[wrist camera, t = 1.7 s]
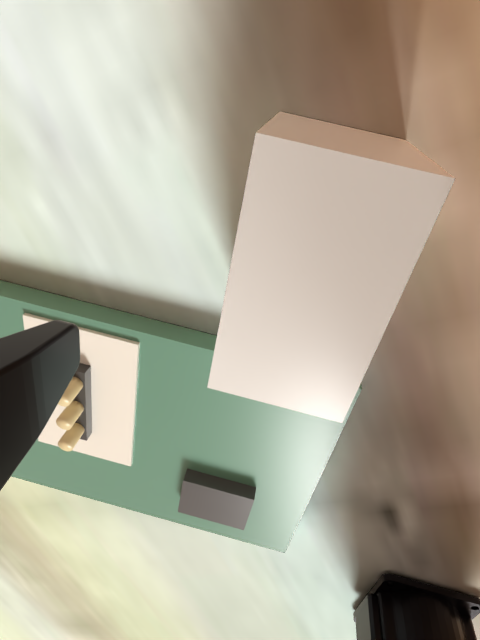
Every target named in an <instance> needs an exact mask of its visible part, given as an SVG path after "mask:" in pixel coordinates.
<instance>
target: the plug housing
mask: <svg viewBox="0 0 480 640" xmlns="http://www.w3.org/2000/svg"><path fill="white" fill-rule="evenodd" d="M454 181H455V178H454V177H453V176H452V175H450V174H449V173H448V172H446V171H445V170H444V169H443V168H441V167H440V166H439V165H437V164H436V163H435V162H434V161H432V160H431V159H430V158H429V157H427V156H426V155H425V154H423V153H422V152H421V151H420V150H418V149H417V148H416V147H414V146H413V145H412V144H411V143H409V142H408V141H407V140H404V139H399V138H395V137H390V136H386V135H382V134H377V133H373V132H368V131H364V130H360V129H355V128H351V127H346V126H342V125H338V124H333V123H329V122H324V121H320V120H316V119H311V118H307V117H303V116H298V115H294V114H289V113H285V112H281V111H280V112H278V113H277V114H276V115H275V116H274V117H273V118H272V119H271V120H269V121H268V122H267V123H266V124H265V125H264V126H263V127H261V128H260V129H259V130H258V131H257V132H256V133H255V139H254V144H253V149H252V155H251V160H250V165H249V170H248V176H247V181H246V186H245V191H244V197H243V202H242V207H241V212H240V218H239V223H238V228H237V233H236V239H235V244H234V249H233V255H232V260H231V265H230V270H229V276H228V281H227V286H226V291H225V297H224V302H223V307H222V312H221V318H220V323H219V328H218V333H217V339H216V344H215V349H214V355H213V360H212V365H211V370H210V376H209V381H208V386H207V388H210V389H214V390H218V391H222V392H226V393H229V394H233V395H237V396H241V397H245V398H248V399H252V400H256V401H260V402H264V403H267V404H271V405H275V406H279V407H283V408H286V409H290V410H294V411H298V412H302V413H305V414H309V415H313V416H317V417H321V418H324V419H328V420H332V421H336V422H340V423H343V421H344V418H345V416H346V414H347V412H348V410H349V408H350V405H351V403H352V401H353V399H354V397H355V395H356V392H357V390H358V388H359V386H360V384H361V382H362V380H363V377H364V375H365V373H366V371H367V369H368V367H369V364H370V362H371V360H372V358H373V356H374V354H375V351H376V349H377V347H378V345H379V343H380V341H381V338H382V336H383V334H384V332H385V330H386V328H387V325H388V323H389V321H390V319H391V317H392V315H393V313H394V310H395V308H396V306H397V304H398V302H399V300H400V297H401V295H402V293H403V291H404V289H405V287H406V284H407V282H408V280H409V278H410V276H411V274H412V271H413V269H414V267H415V265H416V263H417V261H418V259H419V256H420V254H421V252H422V250H423V248H424V246H425V243H426V241H427V239H428V237H429V235H430V233H431V230H432V228H433V226H434V224H435V222H436V220H437V217H438V215H439V213H440V211H441V209H442V207H443V204H444V202H445V200H446V198H447V196H448V194H449V192H450V189H451V187H452V185H453V183H454Z"/></svg>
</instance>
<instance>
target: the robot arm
mask: <svg viewBox="0 0 480 640" xmlns="http://www.w3.org/2000/svg"><path fill="white" fill-rule="evenodd" d="M79 363H80V336H79V328H78V326H77V325H75V324H73V323H69V322H65V321H62V320H53V321H50V322H47V323H44V324H41V325H38V326H35V327H32V328H29V329H26V330H23V331H20V332H17V333H14V334H11V335H8V336H5V337H2V338H0V490H1V489H2V488H3V486H4V485H5V484H6V482H7V481H8V479H9V478H10V477H11V475H12V474H13V472H14V471H15V470H16V468H17V467H18V465H19V464H20V463H21V461H22V460H23V458H24V457H25V456H26V454H27V453H28V451H29V450H30V449H31V447H32V446H33V444H34V443H35V441H36V440H37V439H38V437H39V436H40V434H41V432H42V431H43V429H44V427H45V426H46V424H47V422H48V421H49V419H50V417H51V415H52V413H53V412H54V410H55V408H56V406H57V405H58V403H59V401H60V399H61V397H62V396H63V394H64V392H65V390H66V388H67V387H68V385H69V383H70V381H71V380H72V378H73V376H74V374H75V372H76V371H77V369H78V366H79ZM479 613H480V599H478V598H476V597H472V596H468V595H465V594H461V593H458V592H454V591H451V590H447V589H443V588H440V587H436V586H433V585H429V584H425V583H422V582H418V581H415V580H411V579H408V578H404V577H400V576H397V575H393V574H384V575H382V576H381V577H380V579H379V580H378V581H377V583H376V584H375V585H374V587H373V588H372V589H371V591H370V592H369V593H368V595H367V596H366V597H365V598H364V600H363V601H362V602H361V603H360V605H359V606H358V607H357V609H356V610H355V612H354V614H353V615H354V621H355V622H356V633H357V640H477V638H476V635H475V631H474V627H473V624H472V619H473V618H475V617H476V616H477V615H478V614H479Z"/></svg>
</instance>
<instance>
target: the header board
mask: <svg viewBox="0 0 480 640" xmlns="http://www.w3.org/2000/svg"><path fill="white" fill-rule="evenodd" d="M53 320H62V321H65V322H69V323H73V324H75V325H77V326H78V328H79V336H80V363H79V366H78V369H77V371H76V372H75V374H74V376H73V378H72V380H71V381H70V383H69V385H68V387H67V388H66V390H65V392H64V394H63V396H62V397H61V399H60V401H59V403H58V405H57V406H56V408H55V410H54V412H53V413H52V415H51V417H50V419H49V421H48V422H47V424H46V426H45V427H44V429H43V431H42V432H41V434H40V436H39V437H38V439H37V440H36V441H35V443H34V444H33V446H32V447H31V449H30V450H29V451H28V453H27V454H26V456H25V457H24V458H23V460H22V461H21V463H20V464H19V465H18V467H17V468H16V470H15V471H14V472H13V474H12V475H11V476H12V477H15V478H19V479H23V480H26V481H30V482H33V483H37V484H40V485H44V486H48V487H51V488H55V489H58V490H62V491H65V492H69V493H72V494H76V495H80V496H83V497H87V498H90V499H94V500H97V501H101V502H105V503H108V504H112V505H115V506H119V507H122V508H126V509H130V510H133V511H137V512H140V513H144V514H147V515H151V516H155V517H158V518H162V519H165V520H169V521H172V522H176V523H179V524H183V525H187V526H190V527H194V528H197V529H201V530H204V531H208V532H212V533H215V534H219V535H222V536H226V537H229V538H233V539H237V540H240V541H244V542H247V543H251V544H254V545H258V546H262V547H265V548H269V549H272V550H276V551H279V552H283V553H285V552H286V550H287V548H288V545H289V543H290V541H291V539H292V537H293V535H294V533H295V531H296V528H297V526H298V524H299V522H300V520H301V518H302V516H303V514H304V511H305V509H306V507H307V505H308V503H309V501H310V499H311V496H312V494H313V492H314V490H315V488H316V486H317V484H318V482H319V479H320V477H321V475H322V473H323V471H324V469H325V467H326V465H327V462H328V460H329V458H330V456H331V454H332V452H333V450H334V448H335V445H336V443H337V441H338V439H339V437H340V435H341V433H342V430H343V428H344V426H345V424H346V422H347V420H348V418H349V416H350V413H351V411H352V409H353V407H354V405H355V403H356V401H357V399H358V396H359V394H360V392H361V390H362V386H361V384H360V386H359V388H358V390H357V392H356V395H355V397H354V399H353V401H352V403H351V405H350V408H349V410H348V412H347V414H346V416H345V418H344V421H343V423H340V422H336V421H332V420H328V419H324V418H321V417H317V416H313V415H309V414H305V413H302V412H298V411H294V410H290V409H286V408H283V407H279V406H275V405H271V404H267V403H264V402H260V401H256V400H252V399H248V398H245V397H241V396H237V395H233V394H229V393H226V392H222V391H218V390H214V389H210V388H207V386H208V381H209V376H210V370H211V365H212V360H213V355H214V349H215V344H216V339H217V336H216V335H212V334H208V333H205V332H201V331H197V330H193V329H189V328H185V327H181V326H177V325H173V324H169V323H166V322H162V321H158V320H154V319H150V318H146V317H142V316H138V315H134V314H130V313H127V312H123V311H119V310H115V309H111V308H107V307H103V306H99V305H95V304H91V303H88V302H84V301H80V300H76V299H72V298H68V297H64V296H60V295H56V294H52V293H49V292H45V291H41V290H37V289H33V288H29V287H25V286H21V285H17V284H13V283H10V282H6V281H2V280H0V338H2V337H5V336H8V335H11V334H14V333H17V332H20V331H23V330H26V329H29V328H32V327H35V326H38V325H41V324H44V323H47V322H50V321H53Z"/></svg>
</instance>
